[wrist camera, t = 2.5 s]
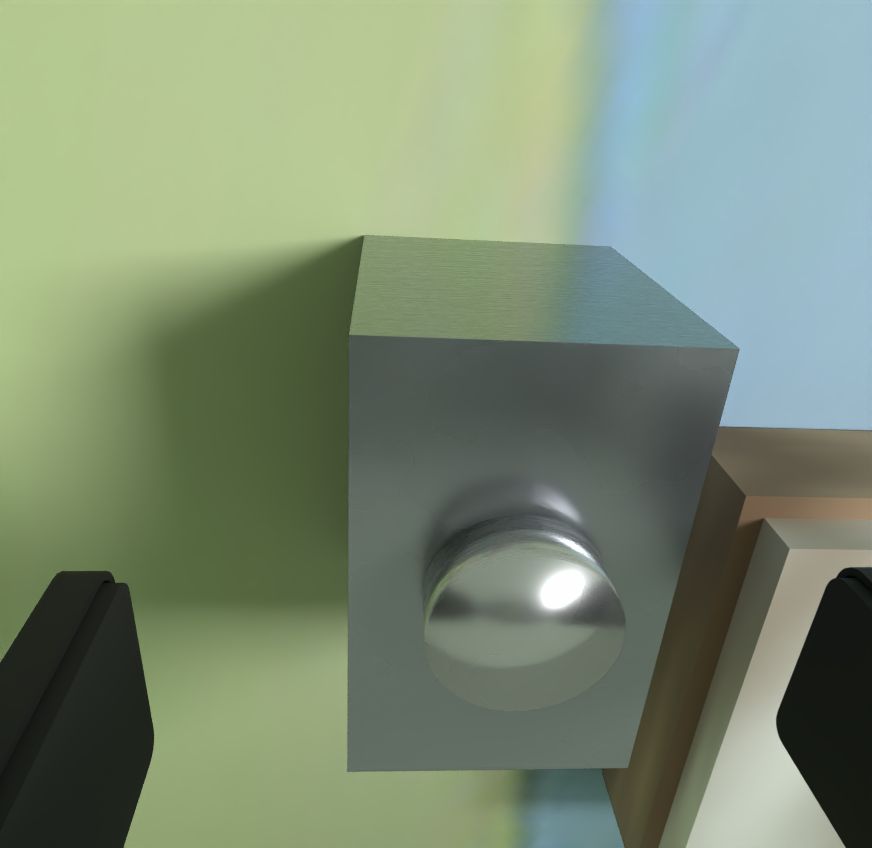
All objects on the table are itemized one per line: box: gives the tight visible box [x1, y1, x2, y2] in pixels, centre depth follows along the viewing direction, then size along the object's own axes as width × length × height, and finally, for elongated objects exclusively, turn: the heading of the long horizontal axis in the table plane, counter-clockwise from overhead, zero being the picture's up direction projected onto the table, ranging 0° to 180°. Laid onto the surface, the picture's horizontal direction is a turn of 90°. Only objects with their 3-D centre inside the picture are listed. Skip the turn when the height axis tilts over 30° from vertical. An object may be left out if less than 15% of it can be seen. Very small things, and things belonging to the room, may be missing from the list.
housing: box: [347, 235, 739, 772], centre depth 13 cm, size 5×8×7 cm, turn 177°
